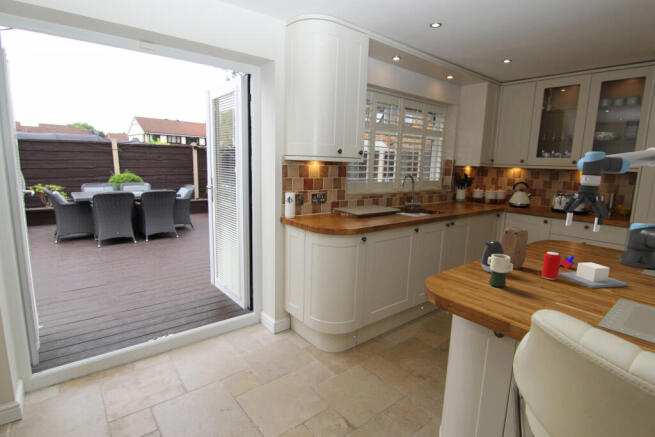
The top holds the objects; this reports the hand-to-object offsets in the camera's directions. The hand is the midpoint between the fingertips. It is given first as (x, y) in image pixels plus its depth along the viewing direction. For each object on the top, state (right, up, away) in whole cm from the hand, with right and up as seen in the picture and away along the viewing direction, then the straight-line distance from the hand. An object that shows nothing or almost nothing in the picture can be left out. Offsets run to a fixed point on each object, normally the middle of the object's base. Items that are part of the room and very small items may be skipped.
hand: (581, 228), depth 159 cm
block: (-30, -20, +8) cm, 37 cm away
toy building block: (-1, -21, +9) cm, 23 cm away
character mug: (-52, -24, -20) cm, 60 cm away
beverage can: (-22, -23, -9) cm, 33 cm away
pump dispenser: (-45, -21, -2) cm, 49 cm away
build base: (-3, -23, -9) cm, 25 cm away
